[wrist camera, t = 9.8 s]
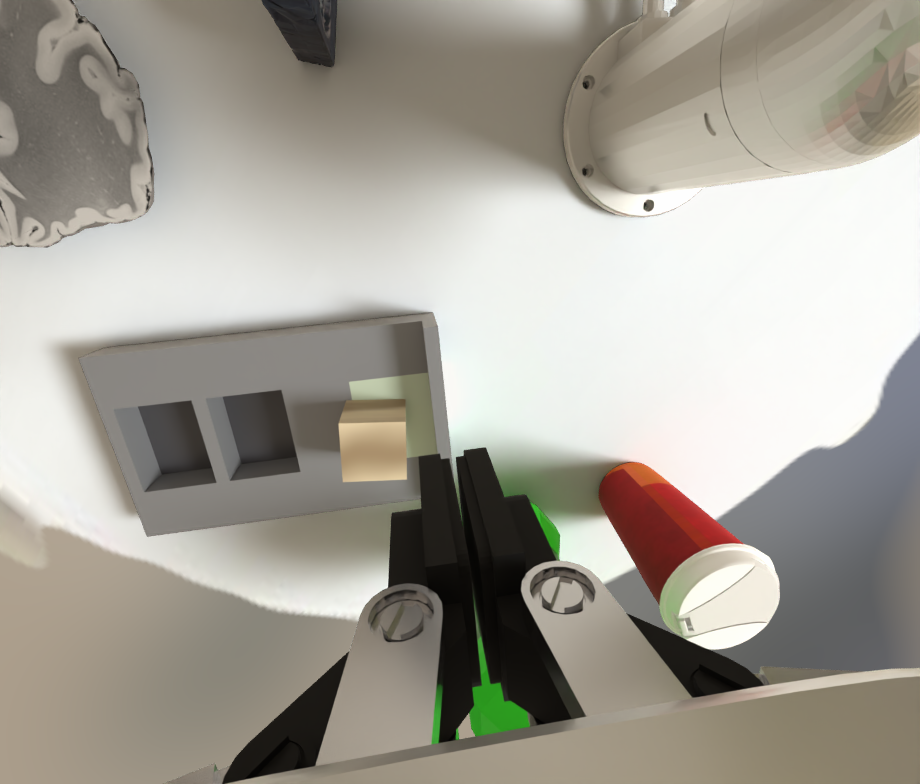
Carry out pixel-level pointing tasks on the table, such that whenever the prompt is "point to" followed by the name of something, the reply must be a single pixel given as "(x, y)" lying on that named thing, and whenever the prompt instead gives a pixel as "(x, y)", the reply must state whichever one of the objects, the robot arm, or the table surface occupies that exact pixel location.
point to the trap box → (263, 418)
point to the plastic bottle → (488, 698)
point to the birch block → (373, 440)
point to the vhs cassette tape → (307, 27)
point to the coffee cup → (689, 560)
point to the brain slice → (66, 128)
